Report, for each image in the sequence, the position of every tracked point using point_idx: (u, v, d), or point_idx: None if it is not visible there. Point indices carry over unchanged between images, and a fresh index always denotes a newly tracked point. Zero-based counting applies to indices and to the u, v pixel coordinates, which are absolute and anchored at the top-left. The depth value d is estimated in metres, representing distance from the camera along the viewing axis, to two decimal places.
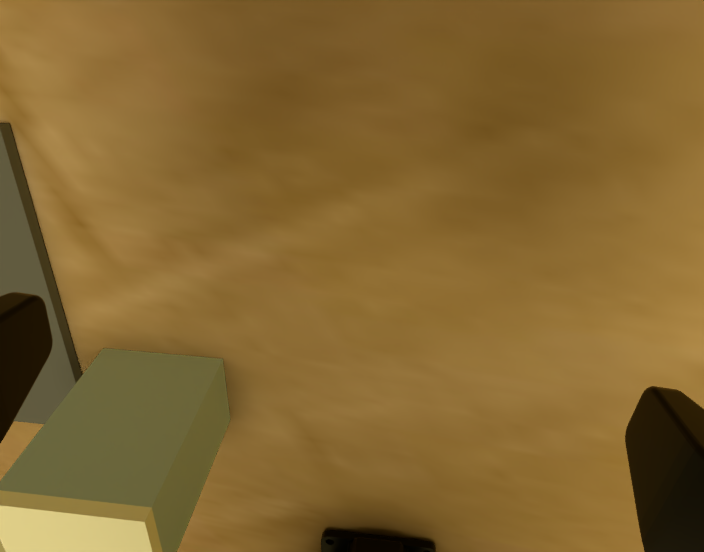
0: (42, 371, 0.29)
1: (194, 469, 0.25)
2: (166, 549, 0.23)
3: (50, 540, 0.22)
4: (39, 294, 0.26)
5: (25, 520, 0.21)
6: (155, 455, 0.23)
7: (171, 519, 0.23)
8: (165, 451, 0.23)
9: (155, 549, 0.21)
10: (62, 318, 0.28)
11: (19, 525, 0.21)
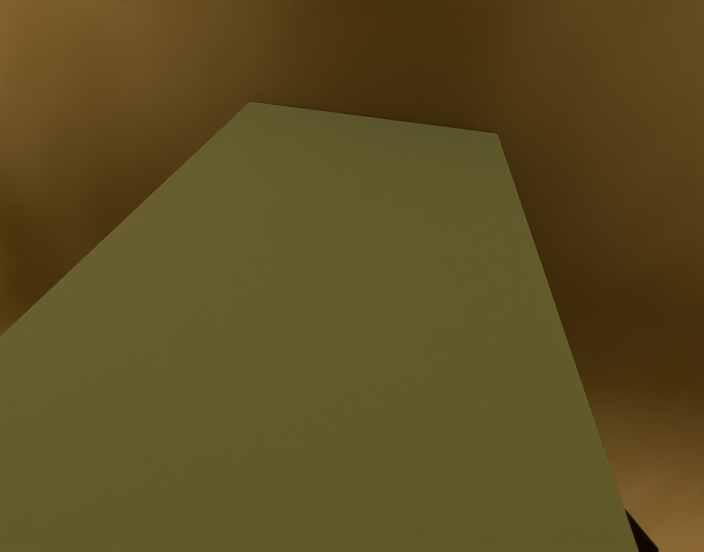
0: None
1: (359, 263, 0.05)
2: None
3: None
4: None
5: None
6: None
7: (279, 496, 0.03)
8: None
9: None
10: None
11: None
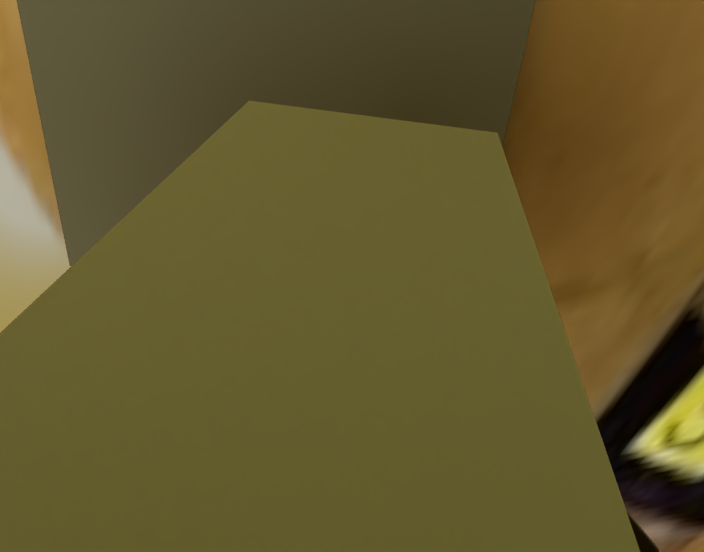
0: None
1: (359, 262, 0.05)
2: None
3: None
4: None
5: None
6: None
7: (279, 495, 0.03)
8: None
9: None
10: None
11: None
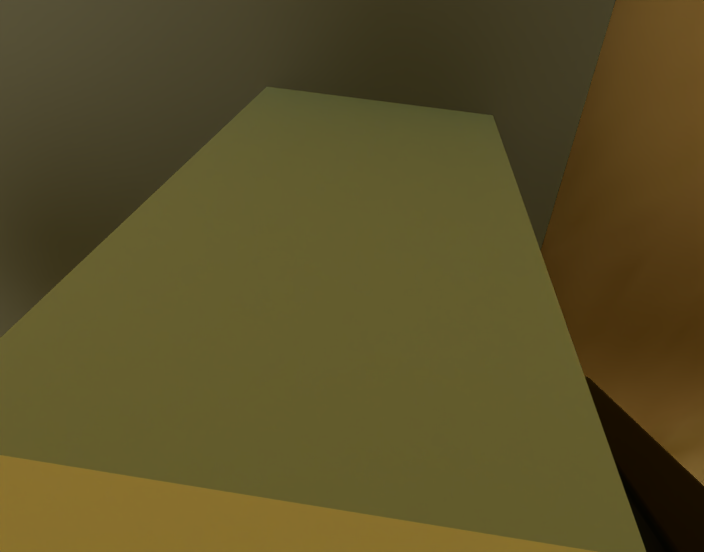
0: None
1: (372, 214, 0.06)
2: (422, 479, 0.03)
3: None
4: None
5: None
6: None
7: (318, 367, 0.04)
8: None
9: None
10: None
11: None
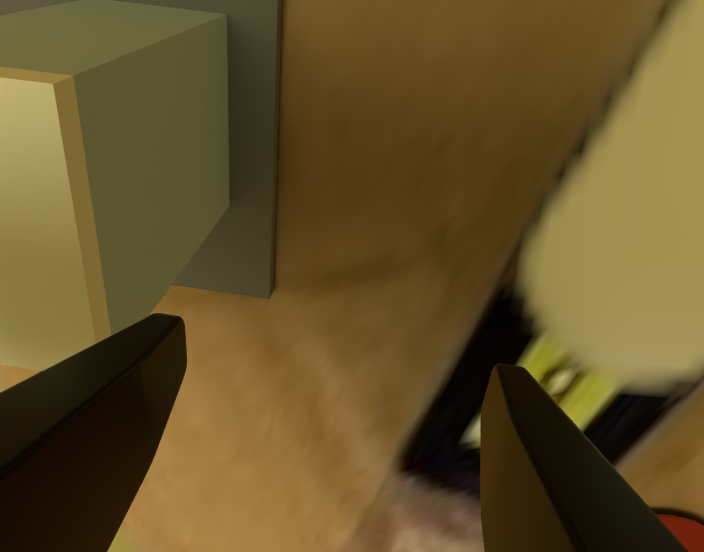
0: None
1: (85, 30, 0.13)
2: (15, 63, 0.10)
3: None
4: None
5: None
6: None
7: (5, 50, 0.11)
8: None
9: None
10: None
11: None
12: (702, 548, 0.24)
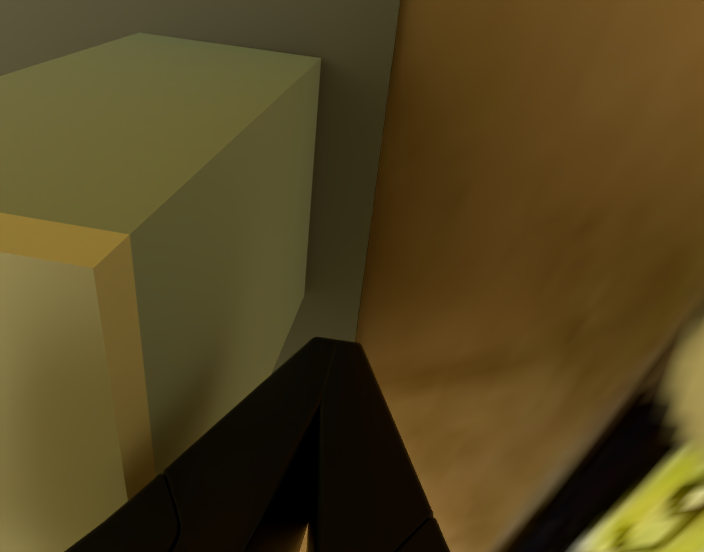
0: None
1: (137, 102, 0.08)
2: (24, 200, 0.05)
3: None
4: None
5: None
6: None
7: (9, 160, 0.06)
8: None
9: None
10: None
11: None
12: None
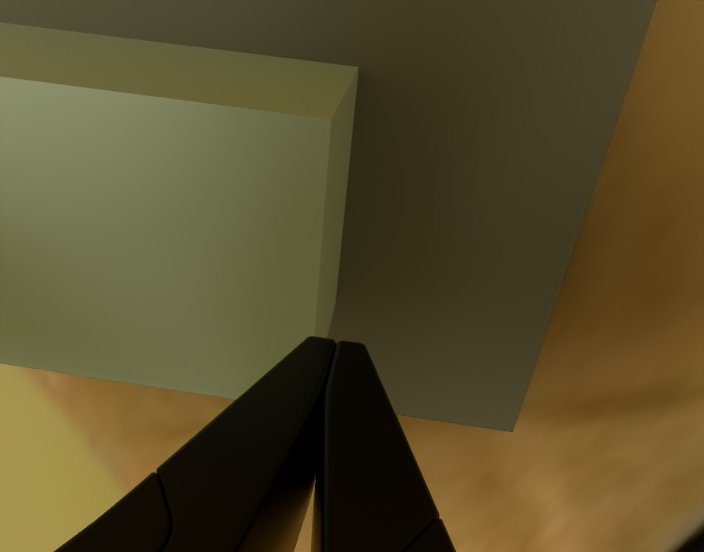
0: None
1: (85, 59, 0.10)
2: None
3: None
4: None
5: None
6: None
7: None
8: None
9: None
10: None
11: None
12: None
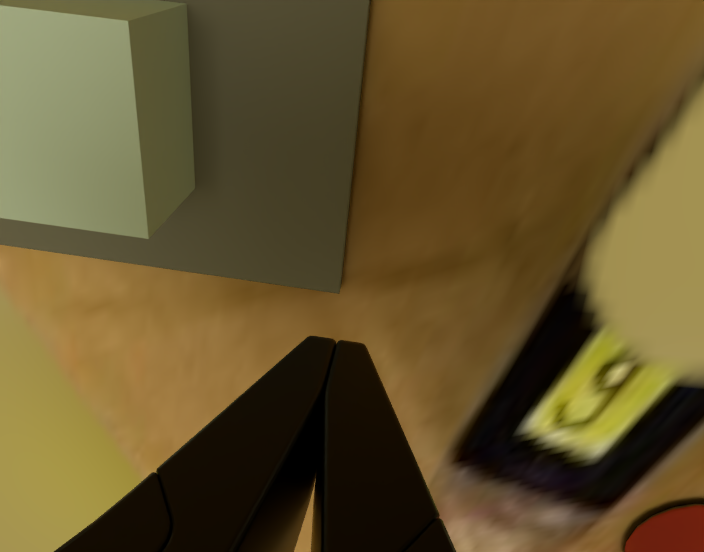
0: None
1: None
2: None
3: None
4: None
5: None
6: None
7: None
8: None
9: None
10: None
11: None
12: None
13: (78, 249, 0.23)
